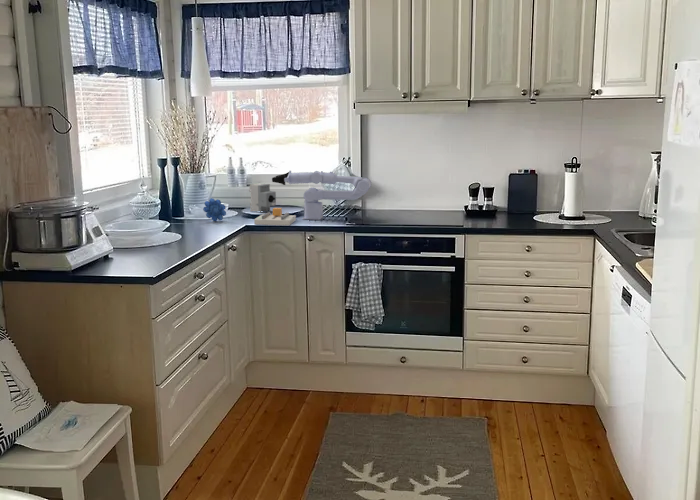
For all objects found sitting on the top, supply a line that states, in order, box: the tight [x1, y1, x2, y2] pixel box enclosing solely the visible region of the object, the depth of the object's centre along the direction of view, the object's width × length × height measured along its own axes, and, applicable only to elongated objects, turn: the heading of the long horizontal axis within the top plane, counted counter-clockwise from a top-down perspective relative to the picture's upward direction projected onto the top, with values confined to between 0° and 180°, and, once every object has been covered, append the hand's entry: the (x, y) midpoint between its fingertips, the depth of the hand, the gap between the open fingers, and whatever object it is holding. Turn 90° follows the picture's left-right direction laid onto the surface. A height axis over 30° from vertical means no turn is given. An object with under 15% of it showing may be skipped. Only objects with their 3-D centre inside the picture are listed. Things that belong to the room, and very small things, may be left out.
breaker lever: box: [272, 207, 283, 216], centre depth 369 cm, size 4×3×4 cm
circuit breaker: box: [248, 182, 277, 212], centre depth 394 cm, size 8×14×15 cm, turn 53°
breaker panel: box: [254, 211, 297, 226], centre depth 366 cm, size 18×14×4 cm
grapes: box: [202, 197, 227, 222], centre depth 367 cm, size 12×7×12 cm, turn 109°
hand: (274, 178), depth 374 cm, fingers open, 7 cm apart
